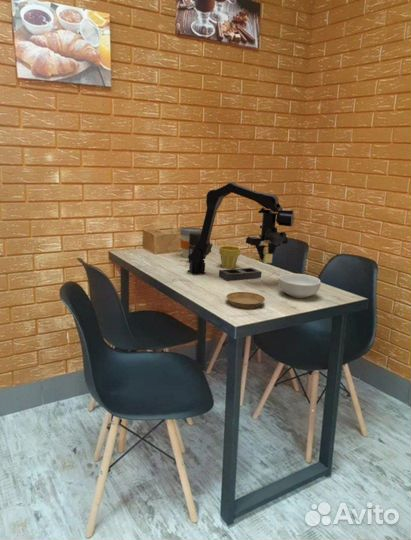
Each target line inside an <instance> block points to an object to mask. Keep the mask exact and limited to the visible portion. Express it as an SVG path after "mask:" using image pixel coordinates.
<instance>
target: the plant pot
mask: <svg viewBox="0 0 411 540" xmlns="http://www.w3.org/2000/svg"><path fill="white" fill-rule="evenodd" d="M218 250H219V252H218V253H219V256H220V260H221V261H220V262H221V267H222V268H225V269H236V268H235V267H236V266H237V265H236V264H237V261H238V258H239V256H240V254H241V247H238V246H235V245H221V246H219V249H218Z"/></svg>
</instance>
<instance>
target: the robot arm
mask: <svg viewBox="0 0 411 540" xmlns="http://www.w3.org/2000/svg"><path fill="white" fill-rule="evenodd" d="M231 194H235V195H237V196H241V197H243V198H246V199H249V200H251V201H253V202H256V203H257V204H258V205H260V206H262V207H261V209H260V210H259V211H258V212H257V213H259V214H262V221H261V225H259V229H261V231H260V232H261V234H259V237H257V236H254V235H253V236H247V237H246V238H245V244H248V245H250V246H254V247H255V248H256V251H257V253H258V257H260V259H261V260H263V253H264V252H265V251H264V249H265V248H266V245H265V243H268V244H267V252H269V253H272V254H273V255H274V253H275V251H276V249H277V248H278V247H280V246H281V245H287V244H288V243H289V238H288V236H287V233H286V232H285V231H281V232H278V227H276V224H278V226H281V227H283V226H284V227H291V228H292V227H293V226H294V222H295V215H294V213H295V212H294V209H290V210H289V209H288V210H287V209H283V207H282V206H281V205H280V201H279V198H278V196H277V195H275V194H272V193H268V192H261V191H260V192H259V191H256V190H254V189H250V188H248V187H246V186H243V185H239V184H237V183H235V182H227V184H225V185H223V186H221V187H219V188H215V189H211V190H209V191H208V192H207V194H206V198H205V199H206V202H205V203H206V204H205V205H206V211H205V216H204V220H203V223H202V227H201V229H202V231H201V235H200V239H199V240H198V242H197V243H196V245H195V247H194V250H193V253H191V254H190V255H189V256H188V258H187V259H189V261H190V263H189V265H188V266H189V268H188V270H187V272H188V273H190V274H191V275H205V274H206V272H205V271H206V263H205V259H206V258H207V256H208V255H210V253H211V252H212V247H213V243H211V241H210V239H211V235H212V230H213V229H214V223H215V219H216V215H217V212H218V210H219V208H220V206H221V205H222V202H223V200H224V198H225V197H228V195H231Z"/></svg>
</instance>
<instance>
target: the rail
mask: <svg viewBox="0 0 411 540" xmlns="http://www.w3.org/2000/svg"><path fill="white" fill-rule="evenodd" d="M262 273H263V272H262V271H261V270H259V269H257V268H254V267H243V268H227V269H219V271H218V277H219V278H221V279H223V280H224V281H226V282H232V281H243V280H254V279H261V278H262Z"/></svg>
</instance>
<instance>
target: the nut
mask: <svg viewBox="0 0 411 540" xmlns="http://www.w3.org/2000/svg"><path fill="white" fill-rule="evenodd" d="M273 255H274V253H273V254H272V253H269V252H268V251H264V253H263V260H261V259H260V257H259V256H258V257H259V258H258V259H259V260H258V261H259V262H261V263H262V264H272V263H273Z"/></svg>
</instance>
